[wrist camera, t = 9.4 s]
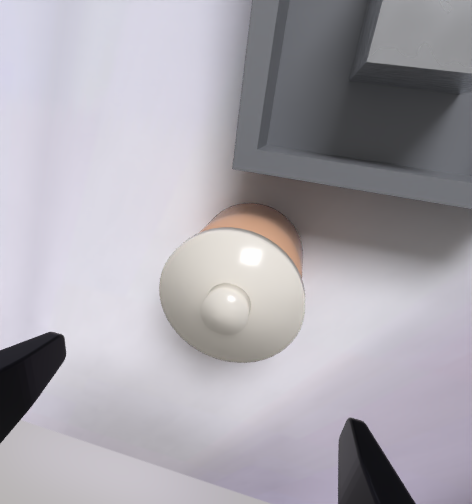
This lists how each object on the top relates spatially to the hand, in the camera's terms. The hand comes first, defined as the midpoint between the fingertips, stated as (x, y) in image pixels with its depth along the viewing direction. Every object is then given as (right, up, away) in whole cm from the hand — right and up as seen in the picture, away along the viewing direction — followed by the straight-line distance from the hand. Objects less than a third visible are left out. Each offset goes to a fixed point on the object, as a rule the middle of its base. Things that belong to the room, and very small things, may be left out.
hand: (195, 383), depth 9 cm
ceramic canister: (+2, +4, +11) cm, 12 cm away
